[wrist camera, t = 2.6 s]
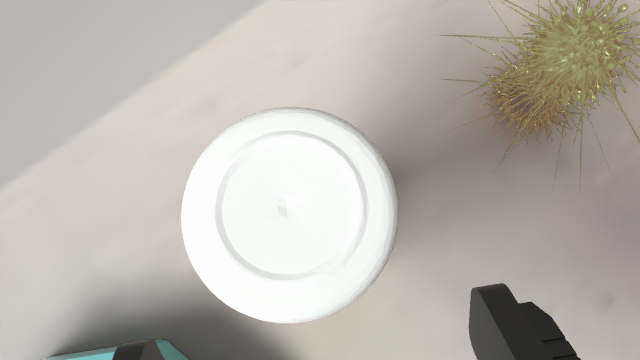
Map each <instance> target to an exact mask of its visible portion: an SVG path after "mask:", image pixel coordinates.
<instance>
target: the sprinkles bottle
mask: <svg viewBox="0 0 640 360" xmlns="http://www.w3.org/2000/svg"><path fill="white" fill-rule="evenodd" d="M398 213H399V209H398V199H397V193H396V188H395V184H394V180H393V178H392V175H391V172H390V170H389V168H388V166H387V164H386V162H385V160H384V158H383V156H382V155H381V154H380V152H379V151H378V150H377V148H376V147H375V145H374V144H373V143H372V142H371V141H370V140H369V139H368V138H367V137H366V136H365V135H364V134H363V133H361V132H360V131H359V130H358V129H357V128H355V127H354V126H352V125H351V124H349V123H348V122H346V121H344V120H343V119H341V118H339V117H336V116H334V115H332V114H329V113H326V112H323V111H319V110H315V109H310V108H301V107H283V108H274V109H269V110H264V111H261V112H259V113H255V114H253V115H250V116H248V117H245V118H243V119H241V120H239V121H238V122H236V123H234V124H233V125H231V126H230V127H228V128H227V129H226V130H224V131H223V132H222V133H221V134H219V135H218V136H217V137H216V138H215V139H214V140H213V141H212V142H211V143H210V144H209V145H208V147H207V148H206V149H205V150H204V151H203V153H202V155H201V156H200V157H199V159H198V160H197V162H196V164H195V166H194V167H193V169H192V172H191V174H190V177H189V179H188V182H187V184H186V188H185V192H184V196H183V203H182V212H181V224H182V233H183V239H184V243H185V247H186V250H187V253H188V256H189V258H190V261H191V263H192V265H193V267H194V269H195V271H196V272H197V274H198V275H199V277H200V278H201V280H202V281H203V282H204V284H205V285H206V286H207V287H208V288H209V290H210V291H211V292H212V293H213V294H214V295H215V296H217V297H218V298H219V299H220V300H221V301H223V302H224V303H225V304H226V305H228V306H230V307H231V308H233V309H235V310H236V311H238V312H240V313H243V314H245V315H247V316H250V317H252V318H256V319H259V320H263V321H267V322H273V323H283V324H284V323H301V322H308V321H312V320H316V319H320V318H323V317H326V316H328V315H331V314H333V313H335V312H337V311H339V310H341V309H343V308H344V307H346V306H348V305H349V304H351V303H352V302H354V301H355V300H356V299H358V298H359V297H360V296H361V295H362V294H363V293H364V292H365V291H366V290H367V289H368V288H369V287H370V286H371V285H372V284H373V282H374V281H375V280H376V279H377V277H378V276H379V274H380V273H381V271H382V270H383V268H384V266H385V265H386V263H387V261H388V258H389V256H390V254H391V251H392V249H393V245H394V242H395V238H396V234H397V229H398Z"/></svg>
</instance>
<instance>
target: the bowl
mask: <svg viewBox="0 0 640 360" xmlns="http://www.w3.org/2000/svg"><path fill="white" fill-rule="evenodd" d="M154 341H155V342H156V344H157V346H158V347H159V349H160V351H161V353H162V355H163V357H164V359H165V360H189V359H188V358H187V357H185V356H184V355H183V354H182V353H181V352H180V351H178V350H177V349H176V348H175V347H174V346H172V345H171V344H170V343H169V342H168V341H167V340H164V341H162V339H160V340H154ZM117 347H118V346H115V347H109V348H103V349H96V350H90V351H84V352H77V353H71V354H65V355H59V356H52V357H47V358H44V359H40V360H112V358H113V356H114V353H115V351H116V349H117Z"/></svg>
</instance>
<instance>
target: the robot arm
mask: <svg viewBox="0 0 640 360" xmlns="http://www.w3.org/2000/svg"><path fill="white" fill-rule="evenodd" d="M469 335H470V340H471V344H472V347H473V350H474V353H475V355H476V357H477V359H478V360H581V359H580V358H578V357H577V354H576V352H575V351H574V349H573V348H572V346H571V345H570V343H569V342H568V341H566V339H565V336H564V335H563V333H562V332H561V330H560V329H559V327H558V326H557V325H556V323H555V322H554V320H553V319H552V317H550V316H549V315H548V314H547V313H545V312H544V311H543V310H541V309H540V308H539V307H538V306H536V305H535V304H534V303H532V302H526V303H520V304H518V302H517V301H516V299H515V298H514V296H513V294H512V293H511V291H510V290H509V288H508V287H507V286H506V285H505V284H503V283H500V284H494V285H488V286H482V287H476V288H472V291H471V301H470V317H469ZM112 360H165V359H164V357H163V355H162V353H161V351H160V349H159V347H158V346H157V344H156V342H155V341H154V340H153V339H148V340H142V341H136V342H129V343H123V344H120V345H119V346H118V347H117V349H116V351H115V353H114V356H113V358H112Z"/></svg>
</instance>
